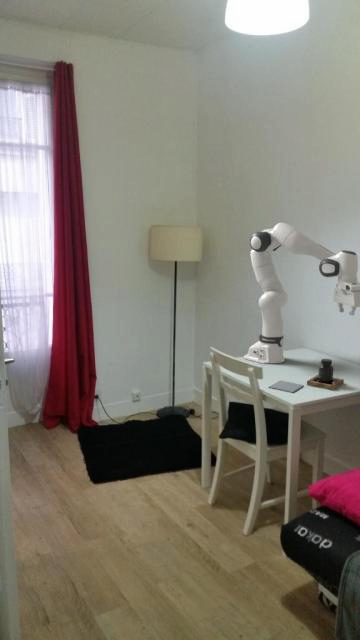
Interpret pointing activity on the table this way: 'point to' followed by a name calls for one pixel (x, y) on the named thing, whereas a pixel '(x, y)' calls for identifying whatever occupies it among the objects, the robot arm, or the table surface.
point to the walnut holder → (336, 384)
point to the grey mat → (286, 386)
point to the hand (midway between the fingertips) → (346, 313)
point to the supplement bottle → (326, 372)
